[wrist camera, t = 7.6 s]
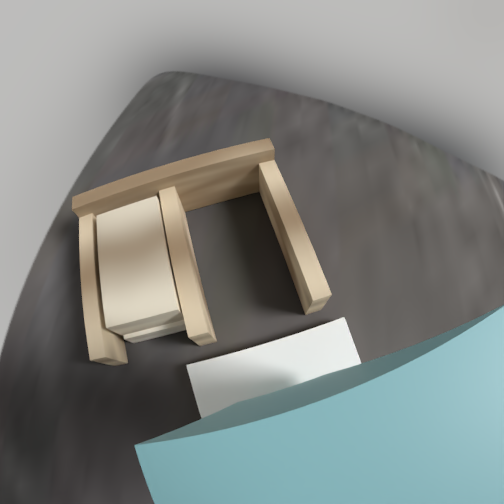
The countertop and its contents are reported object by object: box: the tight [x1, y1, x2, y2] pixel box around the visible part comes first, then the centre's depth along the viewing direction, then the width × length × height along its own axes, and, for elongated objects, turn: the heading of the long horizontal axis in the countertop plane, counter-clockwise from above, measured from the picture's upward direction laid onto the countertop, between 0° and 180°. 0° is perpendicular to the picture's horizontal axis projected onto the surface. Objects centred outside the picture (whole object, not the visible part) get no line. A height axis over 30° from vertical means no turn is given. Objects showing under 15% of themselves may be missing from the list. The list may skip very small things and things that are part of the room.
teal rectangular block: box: [134, 305, 504, 504], centre depth 7 cm, size 4×4×12 cm
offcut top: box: [97, 196, 184, 335], centre depth 17 cm, size 7×4×2 cm, turn 17°
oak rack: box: [72, 138, 332, 366], centre depth 18 cm, size 10×13×4 cm
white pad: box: [186, 317, 361, 419], centre depth 15 cm, size 9×9×1 cm
